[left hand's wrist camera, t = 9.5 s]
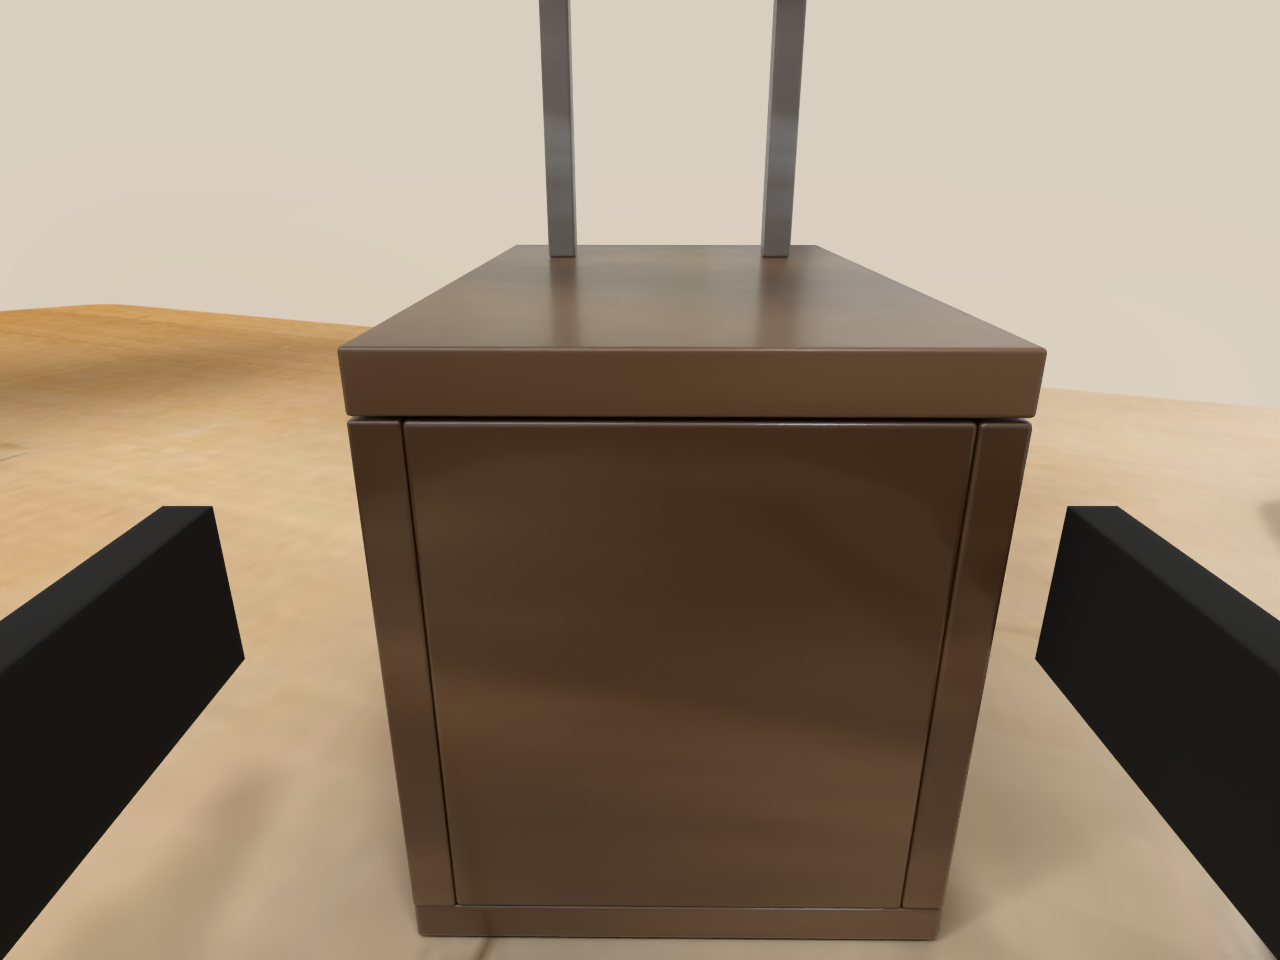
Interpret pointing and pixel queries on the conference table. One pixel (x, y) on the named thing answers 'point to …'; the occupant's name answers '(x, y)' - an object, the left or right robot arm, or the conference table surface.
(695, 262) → the lid
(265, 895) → the conference table surface
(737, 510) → the chest
